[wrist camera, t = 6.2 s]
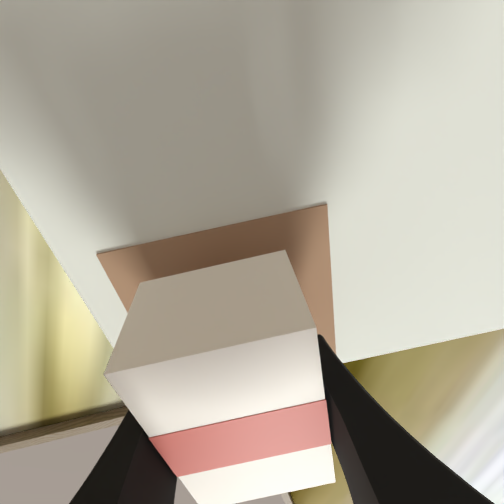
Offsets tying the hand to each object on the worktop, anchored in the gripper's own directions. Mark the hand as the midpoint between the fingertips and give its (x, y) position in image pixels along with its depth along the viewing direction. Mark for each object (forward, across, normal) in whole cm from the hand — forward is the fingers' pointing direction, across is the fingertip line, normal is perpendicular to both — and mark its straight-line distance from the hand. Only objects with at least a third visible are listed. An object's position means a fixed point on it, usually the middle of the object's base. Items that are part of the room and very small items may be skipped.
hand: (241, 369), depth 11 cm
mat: (+3, -5, -4) cm, 7 cm away
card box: (+1, 0, 0) cm, 1 cm away
